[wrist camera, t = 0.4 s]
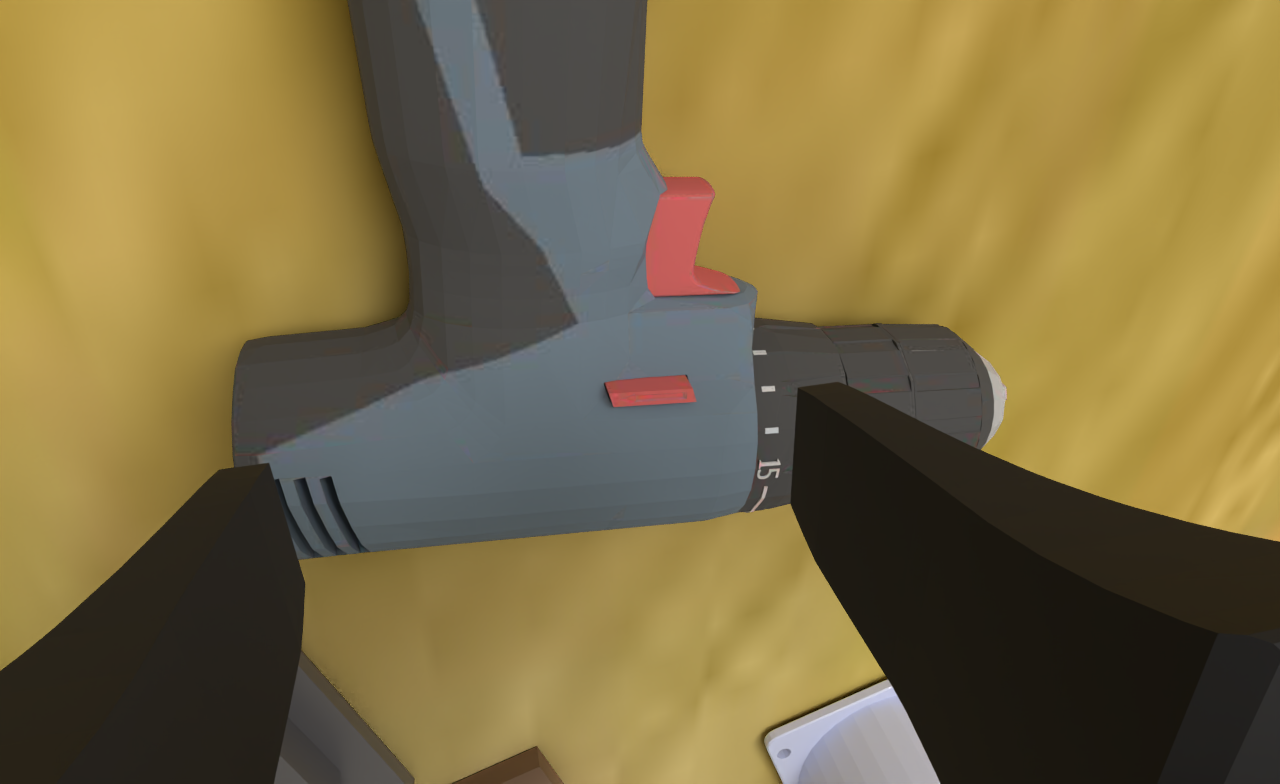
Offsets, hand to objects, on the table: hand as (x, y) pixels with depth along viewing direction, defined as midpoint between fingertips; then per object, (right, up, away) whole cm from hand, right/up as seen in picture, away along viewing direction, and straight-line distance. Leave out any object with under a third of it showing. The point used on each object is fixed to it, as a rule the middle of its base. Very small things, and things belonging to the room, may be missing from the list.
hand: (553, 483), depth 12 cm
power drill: (+2, +8, +8) cm, 12 cm away
